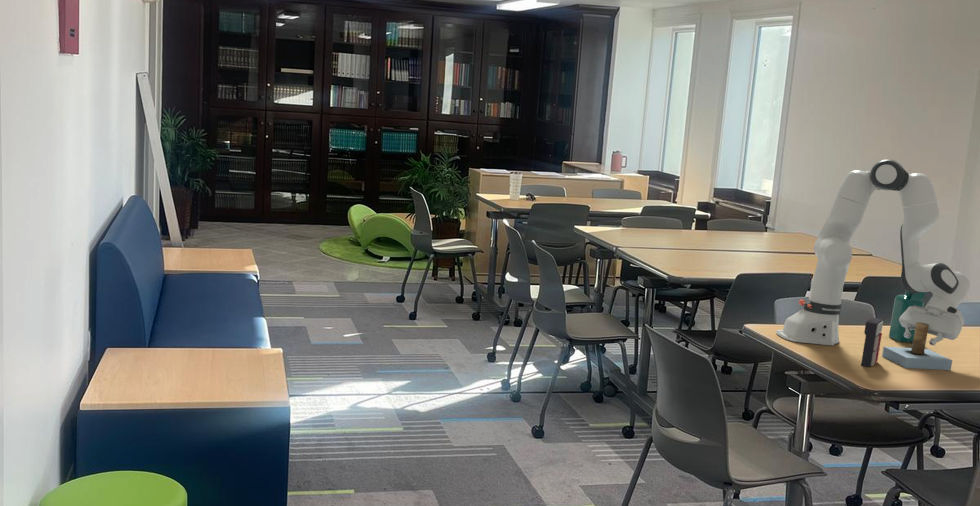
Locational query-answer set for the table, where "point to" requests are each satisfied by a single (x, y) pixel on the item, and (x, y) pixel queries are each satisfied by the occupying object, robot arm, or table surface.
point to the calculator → (872, 341)
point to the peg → (919, 339)
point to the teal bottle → (899, 308)
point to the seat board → (917, 358)
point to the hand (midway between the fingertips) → (918, 340)
